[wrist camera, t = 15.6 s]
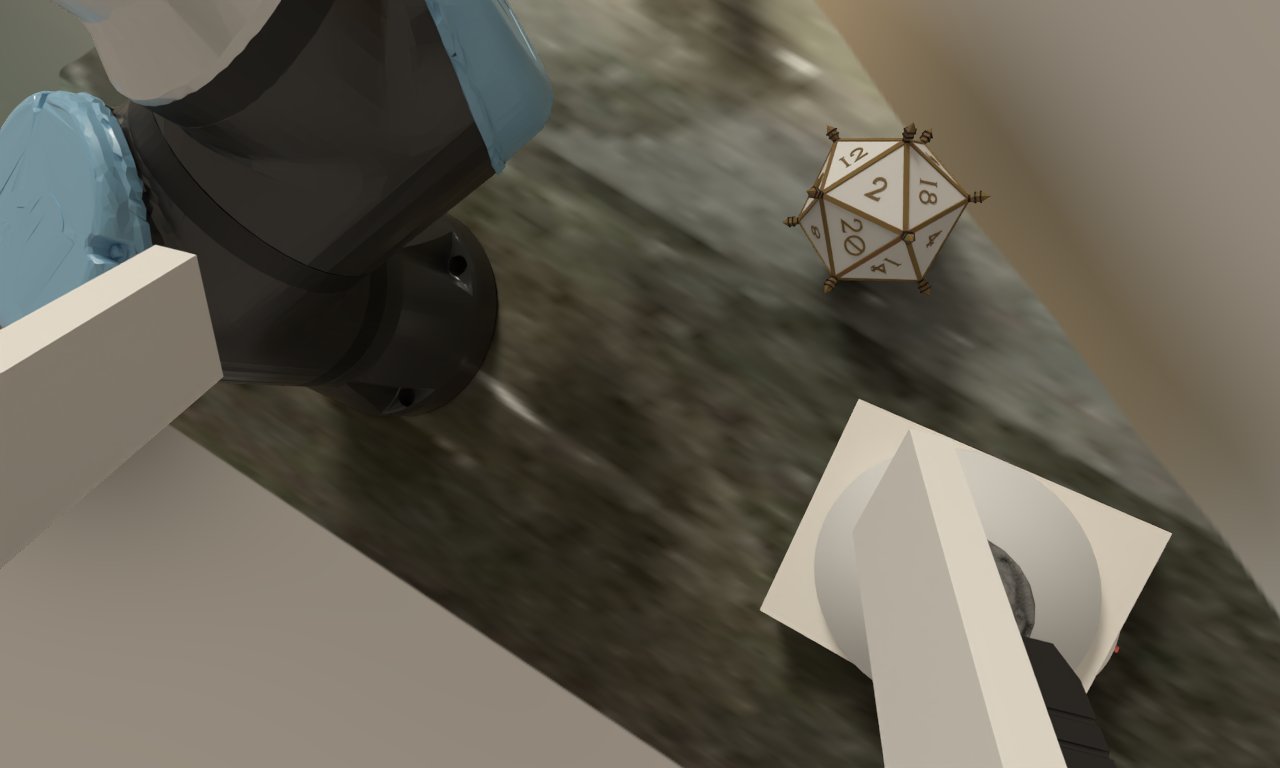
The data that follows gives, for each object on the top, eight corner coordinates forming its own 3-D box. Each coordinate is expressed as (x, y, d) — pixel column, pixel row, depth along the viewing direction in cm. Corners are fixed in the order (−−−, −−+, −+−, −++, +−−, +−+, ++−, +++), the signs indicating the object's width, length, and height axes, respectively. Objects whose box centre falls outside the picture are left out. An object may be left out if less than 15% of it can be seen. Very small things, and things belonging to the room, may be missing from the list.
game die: (910, 264, 41) (981, 336, 32) (767, 260, 40) (800, 331, 32) (947, 103, 36) (1042, 136, 27) (787, 99, 36) (831, 130, 27)
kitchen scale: (773, 591, 39) (756, 615, 34) (862, 400, 38) (857, 398, 33) (1037, 738, 34) (1060, 790, 29) (1151, 524, 33) (1193, 542, 28)
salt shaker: (1042, 631, 30) (1130, 762, 18) (907, 661, 32) (913, 796, 20) (989, 502, 31) (1042, 552, 19) (861, 538, 33) (842, 602, 21)
